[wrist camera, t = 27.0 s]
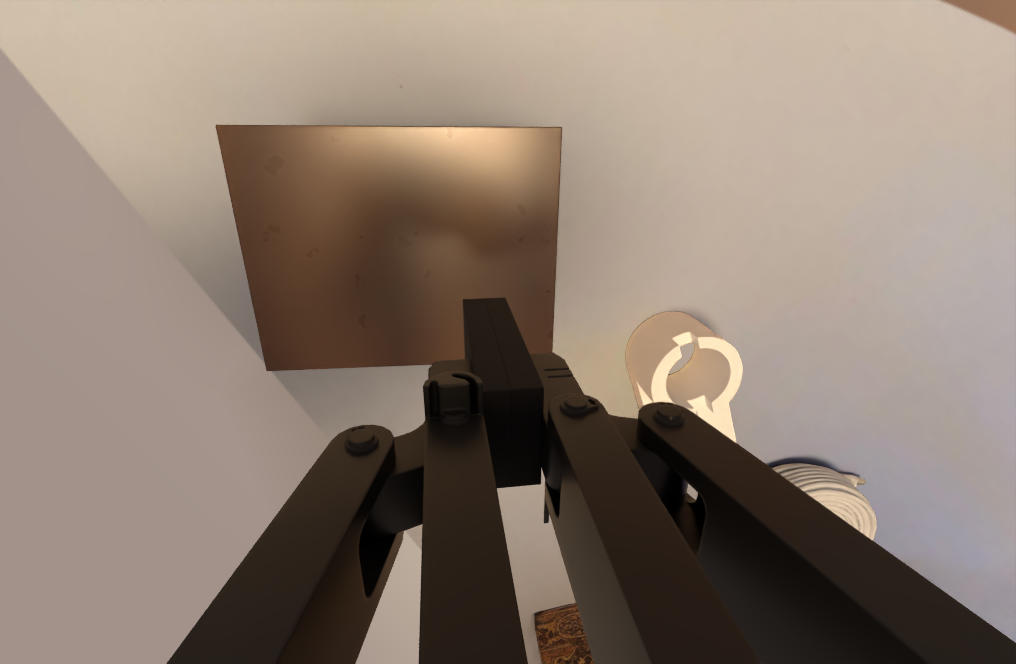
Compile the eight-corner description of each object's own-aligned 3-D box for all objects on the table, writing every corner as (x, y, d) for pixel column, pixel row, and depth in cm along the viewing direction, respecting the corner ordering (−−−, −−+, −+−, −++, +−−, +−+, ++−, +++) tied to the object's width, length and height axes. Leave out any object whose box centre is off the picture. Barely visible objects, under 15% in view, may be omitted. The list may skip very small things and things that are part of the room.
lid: (559, 127, 26) (562, 127, 25) (549, 354, 31) (552, 360, 31) (222, 125, 24) (215, 125, 24) (271, 365, 30) (266, 371, 29)
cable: (869, 475, 61) (911, 509, 56) (790, 574, 66) (822, 614, 61) (763, 439, 57) (798, 472, 51) (687, 548, 62) (712, 589, 56)
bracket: (616, 330, 49) (641, 358, 42) (697, 298, 48) (734, 322, 42) (659, 475, 57) (685, 517, 50) (728, 448, 56) (763, 487, 50)
